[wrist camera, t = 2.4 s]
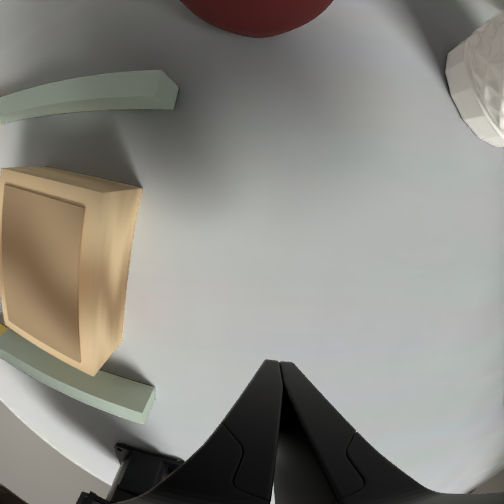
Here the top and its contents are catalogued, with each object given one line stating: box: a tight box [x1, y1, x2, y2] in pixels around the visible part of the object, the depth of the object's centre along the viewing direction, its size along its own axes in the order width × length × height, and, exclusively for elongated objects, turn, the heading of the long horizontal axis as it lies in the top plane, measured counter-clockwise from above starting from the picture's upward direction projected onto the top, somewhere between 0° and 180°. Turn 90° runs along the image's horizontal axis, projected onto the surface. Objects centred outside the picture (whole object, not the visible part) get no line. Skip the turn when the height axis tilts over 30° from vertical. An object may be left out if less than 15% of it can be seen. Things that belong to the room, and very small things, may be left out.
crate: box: [0, 166, 143, 377], centre depth 12 cm, size 9×7×4 cm
